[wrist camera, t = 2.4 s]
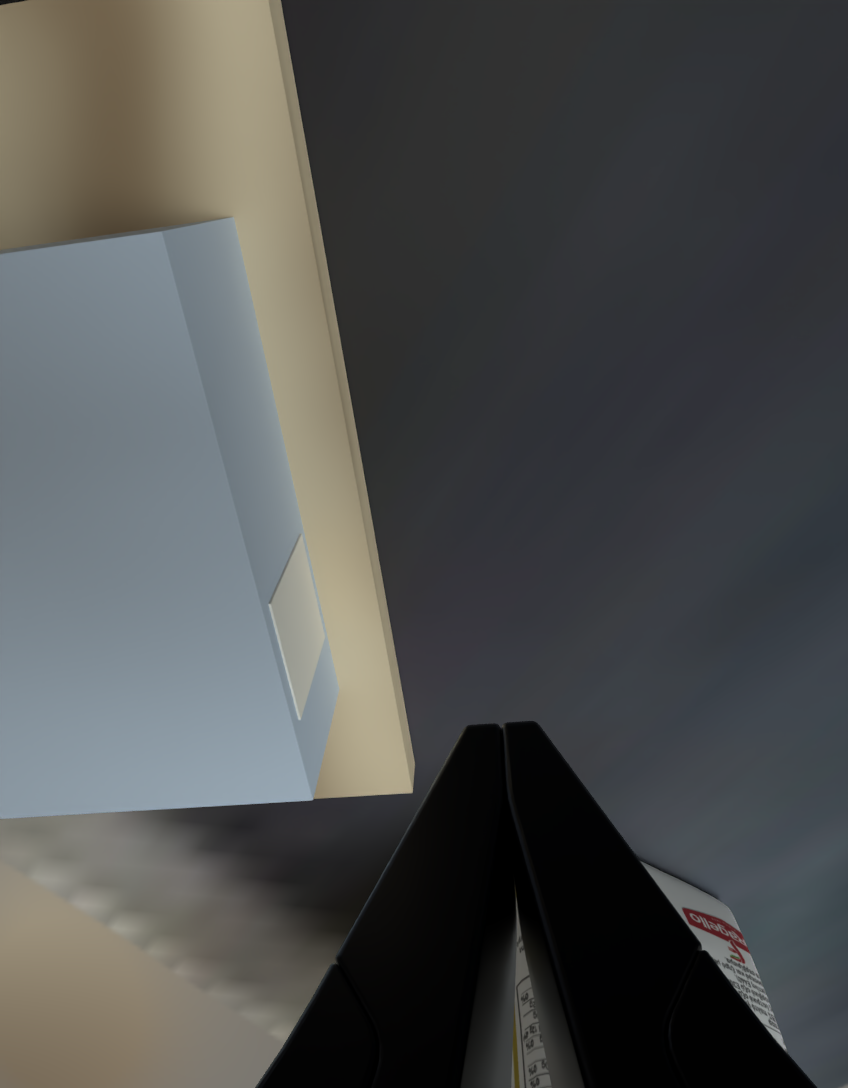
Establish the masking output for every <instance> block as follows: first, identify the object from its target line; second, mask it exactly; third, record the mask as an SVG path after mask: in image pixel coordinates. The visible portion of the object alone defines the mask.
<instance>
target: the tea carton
mask: <svg viewBox="0 0 848 1088" xmlns="http://www.w3.org/2000/svg"><path fill="white" fill-rule="evenodd" d="M338 693H339V686H338V681H337V677H336V672H335V668H334V663H333V659H332V654H331V650H330V645H329V641H328V636H327V632H326V627H325V623H324V619H323V614H322V610H321V605H320V601H319V596H318V592H317V587H316V583H315V578H314V574H313V569H312V565H311V560H310V556H309V551H308V547H307V542H306V538H305V533H304V529H303V525H302V520H301V516H300V511H299V507H298V502H297V498H296V493H295V489H294V484H293V480H292V475H291V471H290V466H289V462H288V457H287V453H286V448H285V444H284V439H283V435H282V431H281V426H280V422H279V417H278V413H277V408H276V404H275V399H274V395H273V390H272V386H271V381H270V377H269V372H268V368H267V363H266V359H265V354H264V350H263V345H262V341H261V337H260V332H259V328H258V323H257V319H256V314H255V310H254V305H253V301H252V296H251V292H250V287H249V283H248V278H247V274H246V269H245V265H244V260H243V256H242V251H241V247H240V243H239V238H238V234H237V229H236V225H235V220H234V217H230V218H223V219H215V220H208V221H201V222H194V223H187V224H180V225H173V226H166V227H159V228H152V229H145V230H138V231H131V232H123V233H116V234H109V235H102V236H95V237H88V238H81V239H74V240H67V241H60V242H53V243H46V244H39V245H32V246H24V247H17V248H10V249H3V250H0V819H7V818H24V817H41V816H58V815H75V814H92V813H108V812H125V811H142V810H159V809H176V808H193V807H210V806H227V805H243V804H260V803H277V802H294V801H311V800H313V798H314V794H315V790H316V786H317V781H318V777H319V773H320V769H321V765H322V760H323V756H324V752H325V748H326V744H327V739H328V735H329V731H330V727H331V722H332V718H333V714H334V710H335V706H336V701H337V697H338Z"/></svg>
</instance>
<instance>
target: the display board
mask: <svg viewBox="0 0 848 1088" xmlns="http://www.w3.org/2000/svg"><path fill="white" fill-rule="evenodd" d="M230 217H234V220H235V225H236V229H237V234H238V238H239V243H240V247H241V251H242V256H243V260H244V265H245V269H246V274H247V278H248V283H249V287H250V292H251V296H252V301H253V305H254V310H255V314H256V319H257V323H258V328H259V332H260V337H261V341H262V345H263V350H264V354H265V359H266V363H267V368H268V372H269V377H270V381H271V386H272V390H273V395H274V399H275V404H276V408H277V413H278V417H279V422H280V426H281V431H282V435H283V439H284V444H285V448H286V453H287V457H288V462H289V466H290V471H291V475H292V480H293V484H294V489H295V493H296V498H297V502H298V507H299V511H300V516H301V520H302V525H303V529H304V533H305V538H306V542H307V547H308V551H309V556H310V560H311V565H312V569H313V574H314V578H315V583H316V587H317V592H318V596H319V601H320V605H321V610H322V614H323V619H324V623H325V627H326V632H327V636H328V641H329V645H330V650H331V654H332V659H333V663H334V668H335V672H336V677H337V681H338V686H339V693H338V697H337V701H336V706H335V710H334V714H333V718H332V722H331V727H330V731H329V735H328V739H327V744H326V748H325V752H324V756H323V760H322V765H321V769H320V773H319V777H318V781H317V786H316V790H315V794H314V798H313V799H319V798H335V797H352V796H369V795H386V794H403V793H413V782H414V769H415V762H414V756H413V750H412V745H411V739H410V733H409V727H408V722H407V716H406V710H405V705H404V699H403V693H402V688H401V682H400V676H399V671H398V665H397V659H396V654H395V648H394V642H393V636H392V631H391V625H390V619H389V614H388V608H387V602H386V597H385V591H384V585H383V580H382V574H381V568H380V563H379V557H378V551H377V546H376V540H375V534H374V528H373V523H372V517H371V511H370V506H369V500H368V494H367V489H366V483H365V477H364V472H363V466H362V460H361V455H360V449H359V443H358V437H357V432H356V426H355V420H354V415H353V409H352V403H351V398H350V392H349V386H348V381H347V375H346V369H345V364H344V358H343V352H342V347H341V341H340V335H339V329H338V324H337V318H336V312H335V307H334V301H333V295H332V290H331V284H330V278H329V273H328V267H327V261H326V256H325V250H324V244H323V238H322V233H321V227H320V221H319V216H318V210H317V204H316V199H315V193H314V187H313V182H312V176H311V170H310V165H309V159H308V153H307V148H306V142H305V136H304V130H303V125H302V119H301V113H300V108H299V102H298V96H297V91H296V85H295V79H294V74H293V68H292V62H291V57H290V51H289V45H288V39H287V34H286V28H285V22H284V17H283V11H282V5H281V0H27V1H22V2H16V3H10V4H5V5H0V250H3V249H10V248H17V247H24V246H32V245H39V244H46V243H53V242H60V241H67V240H74V239H81V238H88V237H95V236H102V235H109V234H116V233H123V232H131V231H138V230H145V229H152V228H159V227H166V226H173V225H180V224H187V223H194V222H201V221H208V220H215V219H223V218H230Z"/></svg>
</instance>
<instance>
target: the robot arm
mask: <svg viewBox="0 0 848 1088" xmlns="http://www.w3.org/2000/svg"><path fill="white" fill-rule="evenodd" d="M501 732H502V733H501ZM515 889H516V892H515ZM516 899H517V908H518V917H519V924H520V930H521V935H522V941H523V946H524V951H525V956H526V961H527V966H528V971H529V976H530V981H531V986H532V991H533V996H534V1001H535V1006H536V1011H537V1016H538V1021H539V1026H540V1031H541V1036H542V1041H543V1046H544V1051H545V1056H546V1061H547V1066H548V1071H549V1076H550V1081H551V1086H552V1088H817V1087H816V1086H815V1084H814V1083H813V1082H812V1081H811V1080H810V1079H809V1078H808V1076H807V1075H806V1074H805V1073H804V1072H803V1071H802V1070H801V1068H800V1067H799V1066H798V1065H797V1064H796V1063H795V1061H794V1060H793V1059H792V1058H791V1057H790V1056H789V1055H788V1053H787V1052H786V1051H785V1050H784V1049H783V1048H782V1047H781V1045H780V1044H779V1043H778V1042H777V1041H776V1040H775V1039H774V1037H773V1036H772V1035H771V1033H770V1032H769V1031H768V1030H767V1028H766V1027H765V1026H764V1025H763V1023H762V1022H761V1021H760V1019H759V1018H758V1017H757V1016H756V1014H755V1013H754V1012H753V1011H752V1009H751V1008H750V1007H749V1005H748V1004H747V1003H746V1002H745V1000H744V999H743V998H742V997H741V995H740V994H739V993H738V991H737V990H736V989H735V988H734V986H733V985H732V984H731V982H730V981H729V980H728V978H727V977H726V976H725V974H724V973H723V972H722V970H721V969H720V968H719V966H718V965H717V963H716V962H715V961H714V959H713V958H712V957H711V955H710V954H709V953H708V952H707V951H706V950H702V945H701V943H700V941H699V940H698V938H697V937H696V936H695V934H694V933H693V932H692V930H691V929H690V928H689V926H688V925H687V924H686V922H685V921H684V920H683V918H682V917H681V916H680V914H679V913H678V911H677V910H676V909H675V907H674V906H673V905H672V903H671V902H670V901H669V899H668V898H667V897H666V895H665V894H664V893H663V891H662V890H661V889H660V887H659V886H658V885H657V883H656V882H655V880H654V879H653V878H652V876H651V875H650V874H649V872H648V871H647V870H646V868H645V867H644V866H643V864H642V863H641V862H640V860H639V859H638V858H637V856H636V855H635V853H634V852H633V851H632V849H631V848H630V847H629V845H628V844H627V843H626V841H625V840H624V839H623V837H622V836H621V835H620V833H619V832H618V831H617V829H616V828H615V826H614V825H613V824H612V822H611V821H610V820H609V818H608V817H607V816H606V814H605V813H604V812H603V810H602V809H601V808H600V806H599V805H598V804H597V802H596V801H595V800H594V798H593V797H592V795H591V794H590V793H589V791H588V790H587V789H586V787H585V786H584V785H583V783H582V782H581V781H580V779H579V778H578V777H577V775H576V774H575V773H574V771H573V770H572V768H571V767H570V766H569V764H568V763H567V762H566V760H565V759H564V758H563V756H562V755H561V754H560V752H559V751H558V750H557V748H556V747H555V746H554V744H553V743H552V741H551V740H550V739H549V737H548V736H547V735H546V733H545V732H544V731H543V729H542V728H541V727H540V725H539V724H538V723H536V722H534V721H522V722H507V723H505V724H503V726H502V729H501V728H500V726H499V725H498V724H495V723H493V724H478V725H468V726H467V727H465V728H464V730H463V731H462V733H461V734H460V736H459V738H458V740H457V742H456V743H455V745H454V747H453V749H452V750H451V752H450V754H449V756H448V758H447V759H446V761H445V763H444V765H443V766H442V768H441V770H440V772H439V774H438V775H437V777H436V779H435V781H434V782H433V784H432V786H431V788H430V790H429V791H428V793H427V795H426V797H425V798H424V800H423V802H422V804H421V806H420V807H419V809H418V811H417V813H416V814H415V816H414V818H413V820H412V822H411V823H410V825H409V827H408V829H407V830H406V832H405V834H404V836H403V838H402V839H401V841H400V843H399V845H398V847H397V848H396V850H395V852H394V854H393V855H392V857H391V859H390V861H389V863H388V864H387V866H386V868H385V870H384V871H383V873H382V875H381V877H380V879H379V880H378V882H377V884H376V886H375V887H374V889H373V891H372V893H371V895H370V896H369V898H368V900H367V902H366V903H365V905H364V907H363V909H362V911H361V912H360V914H359V916H358V918H357V919H356V921H355V923H354V925H353V927H352V928H351V930H350V932H349V934H348V935H347V937H346V939H345V941H344V943H343V944H342V946H341V948H340V950H339V951H338V953H337V955H336V957H335V960H336V963H333V964H331V965H330V967H329V968H328V970H327V972H326V974H325V976H324V977H323V979H322V981H321V983H320V985H319V986H318V988H317V990H316V992H315V994H314V995H313V997H312V999H311V1001H310V1002H309V1004H308V1006H307V1007H306V1009H305V1011H304V1012H303V1014H302V1015H301V1017H300V1019H299V1020H298V1022H297V1024H296V1025H295V1027H294V1029H293V1030H292V1032H291V1034H290V1035H289V1037H288V1039H287V1040H286V1042H285V1044H284V1045H283V1047H282V1049H281V1050H280V1052H279V1053H278V1055H277V1056H276V1058H275V1059H274V1061H273V1062H272V1064H271V1065H270V1067H269V1068H268V1070H267V1071H266V1072H265V1074H264V1075H263V1077H262V1078H261V1080H260V1081H259V1083H258V1084H257V1086H256V1087H255V1088H511V1078H512V1052H513V1027H514V1001H515V976H516V951H517V909H516Z"/></svg>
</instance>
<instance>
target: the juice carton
mask: <svg viewBox="0 0 848 1088" xmlns="http://www.w3.org/2000/svg"><path fill="white" fill-rule="evenodd" d="M640 862H641V863H642V864H643V866H644V867H645V868H646V870H647V871H648V872H649V874H650V875H651V876H652V878H653V879H654V880H655V882H656V883H657V885H658V886H659V887H660V889H661V890H662V891H663V893H664V894H665V895H666V897H667V898H668V899H669V901H670V902H671V903H672V905H673V906H674V907H675V909H676V910H677V911H678V913H679V914H680V916H681V917H682V918H683V920H684V921H685V922H686V924H687V925H688V926H689V928H690V929H691V930H692V932H693V933H694V934H695V936H696V937H697V938H698V940H699V941H700V943H701V945H702V950H706V951H707V952H708V953H709V954H710V955H711V957H712V958H713V959H714V961H715V962H716V963H717V965H718V966H719V968H720V969H721V970H722V972H723V973H724V974H725V976H726V977H727V978H728V980H729V981H730V982H731V984H732V985H733V986H734V988H735V989H736V990H737V991H738V993H739V994H740V995H741V997H742V998H743V999H744V1000H745V1002H746V1003H747V1004H748V1005H749V1007H750V1008H751V1009H752V1011H753V1012H754V1013H755V1014H756V1016H757V1017H758V1018H759V1019H760V1021H761V1022H762V1023H763V1025H764V1026H765V1027H766V1028H767V1030H768V1031H769V1032H770V1033H771V1035H772V1036H773V1037H774V1039H775V1040H776V1041H777V1042H778V1043H779V1044H780V1045H781V1047H782V1048H783V1049H784V1050H785V1051H786V1052H787V1049H786V1046H785V1044H784V1041H783V1038H782V1036H781V1033H780V1030H779V1027H778V1025H777V1022H776V1019H775V1017H774V1014H773V1011H772V1009H771V1006H770V1003H769V1001H768V998H767V995H766V993H765V990H764V987H763V985H762V982H761V980H760V977H759V974H758V972H757V969H756V967H755V964H754V962H753V960H752V957H751V955H750V952H749V950H748V948H747V945H746V943H745V941H744V938H743V936H742V934H741V931H740V929H739V927H738V925H737V923H736V920H735V918H734V916H733V914H732V912H731V911H730V909H729V908H728V907H727V906H726V905H725V904H723V903H722V902H720V901H719V900H717V899H716V898H714V897H712V896H711V895H709V894H707V893H705V892H703V891H701V890H699V889H698V888H696V887H694V886H692V885H690V884H688V883H686V882H683V881H681V880H679V879H677V878H675V877H673V876H671V875H669V874H667V873H664V872H662V871H660V870H658V869H656V868H654V867H652V866H650V865H648V864H646V863H644V862H642V861H640ZM515 892H516V889H515ZM516 909H517V951H516V976H515V1001H514V1027H513V1052H512V1078H511V1088H552V1086H551V1081H550V1076H549V1071H548V1066H547V1061H546V1056H545V1051H544V1046H543V1041H542V1036H541V1031H540V1026H539V1021H538V1016H537V1011H536V1006H535V1001H534V996H533V991H532V986H531V981H530V976H529V971H528V966H527V961H526V956H525V951H524V946H523V941H522V935H521V930H520V924H519V917H518V908H517V899H516ZM787 1053H788V1052H787ZM788 1055H789V1054H788Z"/></svg>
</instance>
